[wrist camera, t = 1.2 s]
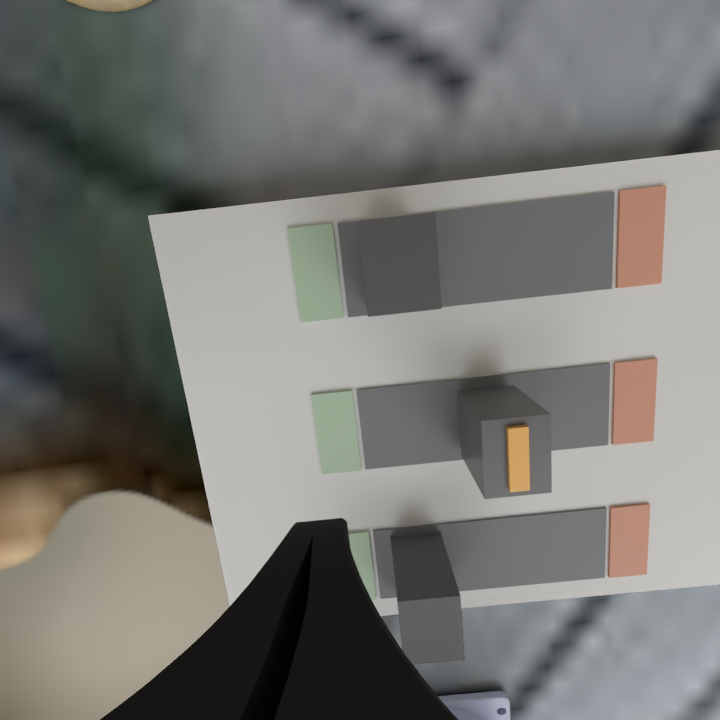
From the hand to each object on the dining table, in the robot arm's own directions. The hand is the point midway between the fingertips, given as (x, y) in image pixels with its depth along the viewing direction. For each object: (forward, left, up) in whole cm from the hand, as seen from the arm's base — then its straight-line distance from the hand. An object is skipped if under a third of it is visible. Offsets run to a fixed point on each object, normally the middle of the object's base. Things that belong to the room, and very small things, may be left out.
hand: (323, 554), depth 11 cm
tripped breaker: (0, -7, -8) cm, 10 cm away
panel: (0, -7, -10) cm, 12 cm away
